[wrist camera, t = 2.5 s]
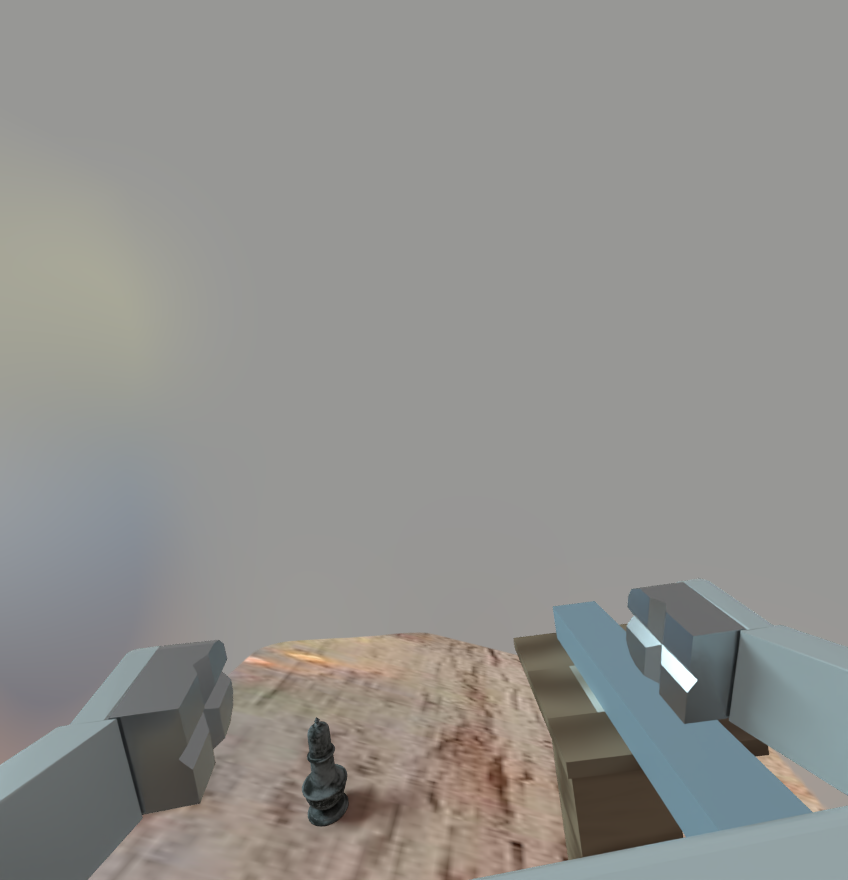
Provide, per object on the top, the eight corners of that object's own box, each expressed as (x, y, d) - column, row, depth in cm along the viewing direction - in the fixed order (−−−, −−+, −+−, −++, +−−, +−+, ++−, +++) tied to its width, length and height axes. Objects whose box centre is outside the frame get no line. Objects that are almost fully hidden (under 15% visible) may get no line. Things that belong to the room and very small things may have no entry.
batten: (850, 917, 16) (839, 838, 16) (745, 928, 16) (734, 850, 16) (598, 632, 40) (594, 601, 40) (557, 637, 40) (552, 606, 40)
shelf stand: (846, 1176, 25) (783, 736, 25) (609, 1201, 25) (549, 764, 25) (676, 876, 42) (640, 617, 42) (536, 893, 42) (501, 634, 42)
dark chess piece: (358, 793, 57) (347, 706, 57) (334, 833, 52) (321, 736, 52) (323, 785, 59) (312, 701, 59) (296, 822, 54) (283, 729, 54)
